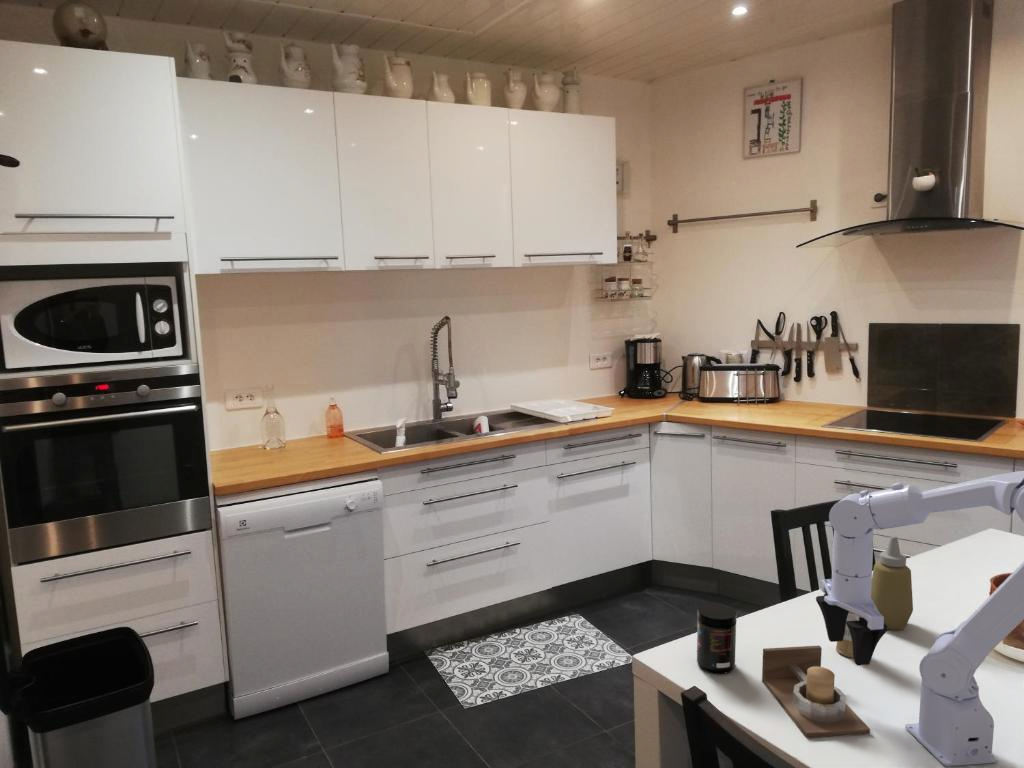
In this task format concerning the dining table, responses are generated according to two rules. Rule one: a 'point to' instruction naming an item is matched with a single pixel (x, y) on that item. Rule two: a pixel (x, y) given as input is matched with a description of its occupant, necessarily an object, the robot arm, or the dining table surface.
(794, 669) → the cup bracket
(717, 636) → the supplement container
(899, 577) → the squeeze bottle
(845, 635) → the sprinkles bottle
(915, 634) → the dining table surface
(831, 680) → the oak peg
